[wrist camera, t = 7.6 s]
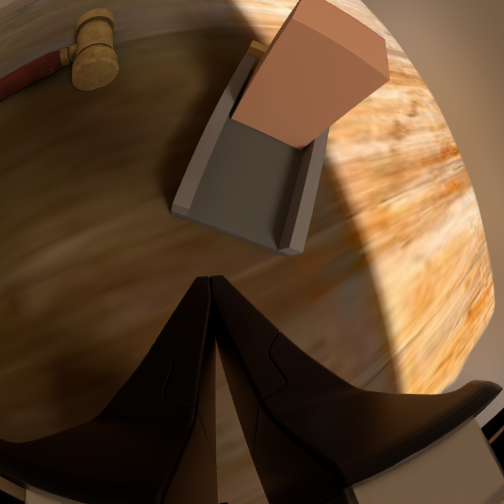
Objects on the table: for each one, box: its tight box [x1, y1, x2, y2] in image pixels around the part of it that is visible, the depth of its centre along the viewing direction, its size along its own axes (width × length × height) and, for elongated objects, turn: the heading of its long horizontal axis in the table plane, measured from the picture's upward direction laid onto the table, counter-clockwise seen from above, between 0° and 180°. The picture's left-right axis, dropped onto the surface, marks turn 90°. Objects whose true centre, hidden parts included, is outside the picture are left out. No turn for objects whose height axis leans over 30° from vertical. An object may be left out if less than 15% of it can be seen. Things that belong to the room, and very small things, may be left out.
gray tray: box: [171, 40, 329, 256], centre depth 22 cm, size 18×10×4 cm, turn 163°
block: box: [231, 0, 390, 151], centre depth 18 cm, size 6×7×12 cm
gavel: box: [0, 8, 119, 101], centre depth 15 cm, size 21×5×10 cm
